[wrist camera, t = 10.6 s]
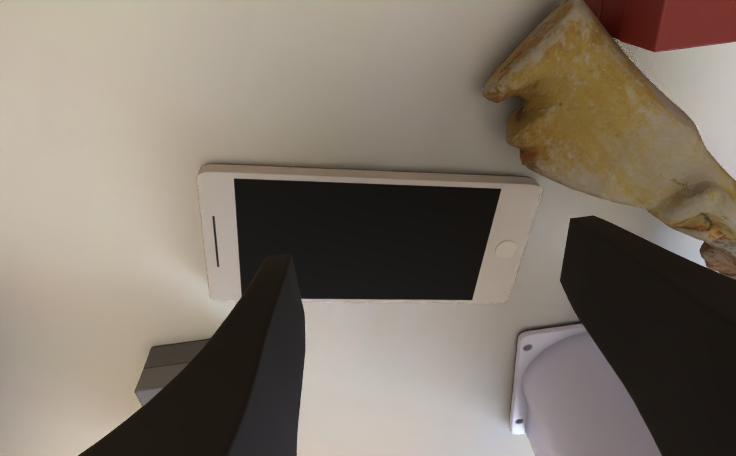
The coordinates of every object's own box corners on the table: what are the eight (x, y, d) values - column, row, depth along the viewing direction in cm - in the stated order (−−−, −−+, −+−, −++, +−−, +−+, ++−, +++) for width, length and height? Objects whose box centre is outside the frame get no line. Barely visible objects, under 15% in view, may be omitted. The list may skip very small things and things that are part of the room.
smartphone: (502, 294, 26) (508, 305, 25) (213, 291, 24) (209, 303, 23) (538, 176, 22) (546, 185, 22) (199, 162, 21) (194, 171, 20)
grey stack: (279, 434, 31) (275, 479, 29) (199, 446, 31) (189, 492, 28) (245, 334, 26) (238, 377, 24) (151, 347, 26) (133, 391, 23)
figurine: (445, 132, 19) (688, 334, 22) (547, 52, 14) (837, 323, 17) (488, 55, 21) (701, 246, 24) (587, -36, 17) (836, 216, 20)
